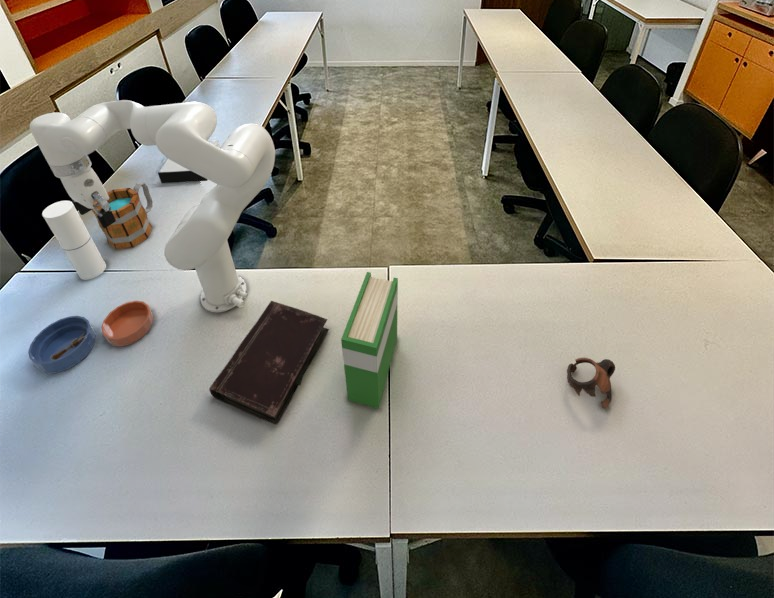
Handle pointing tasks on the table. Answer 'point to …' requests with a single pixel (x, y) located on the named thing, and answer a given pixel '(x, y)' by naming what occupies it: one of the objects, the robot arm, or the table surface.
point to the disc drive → (180, 172)
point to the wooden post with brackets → (68, 347)
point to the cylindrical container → (74, 239)
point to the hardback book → (370, 340)
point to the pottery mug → (600, 378)
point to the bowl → (61, 344)
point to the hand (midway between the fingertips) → (98, 218)
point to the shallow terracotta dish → (127, 323)
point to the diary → (271, 362)
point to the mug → (127, 217)
